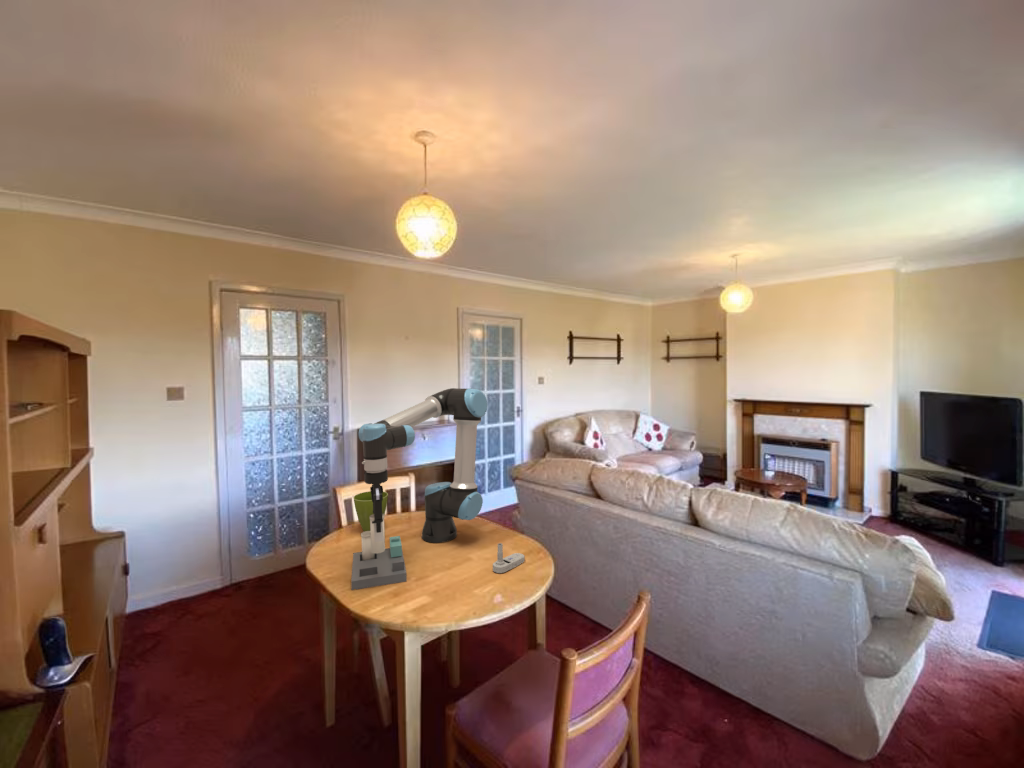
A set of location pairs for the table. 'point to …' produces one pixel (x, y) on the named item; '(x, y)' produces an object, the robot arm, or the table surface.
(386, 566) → the housing
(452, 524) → the robot arm
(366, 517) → the flower pot
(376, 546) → the cream peg
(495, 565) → the electronic device
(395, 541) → the lid
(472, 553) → the table surface
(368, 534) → the white cylinder
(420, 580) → the table surface
